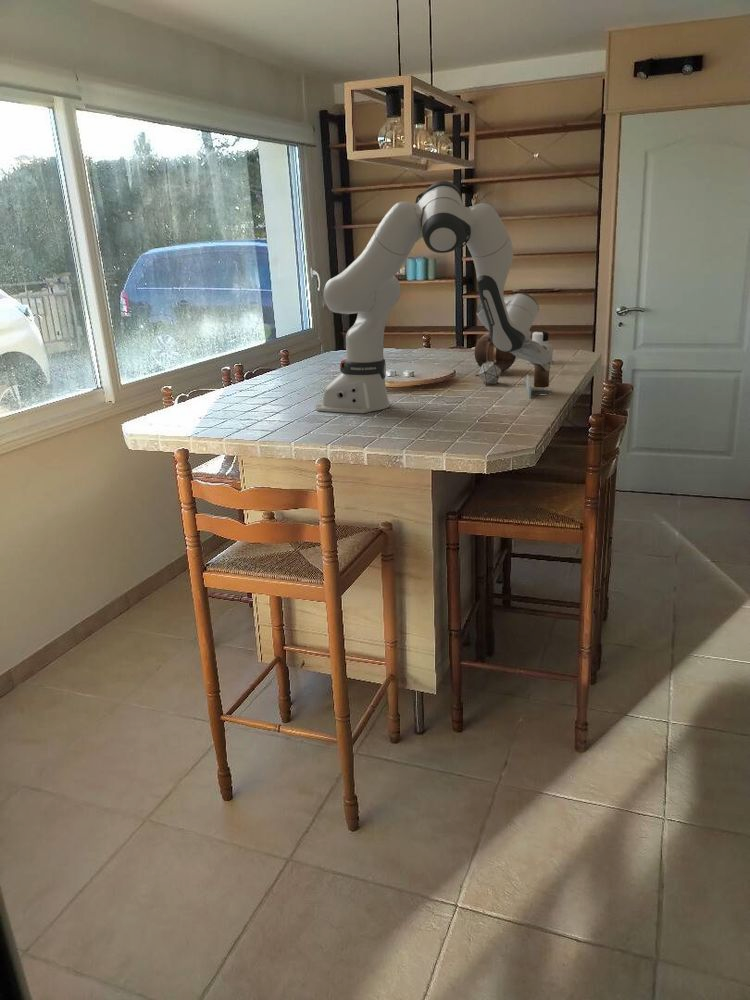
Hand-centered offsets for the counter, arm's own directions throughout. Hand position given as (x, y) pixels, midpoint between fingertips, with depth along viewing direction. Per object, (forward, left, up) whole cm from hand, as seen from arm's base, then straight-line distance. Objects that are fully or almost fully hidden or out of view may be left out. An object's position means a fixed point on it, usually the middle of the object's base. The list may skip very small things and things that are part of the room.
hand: (543, 367), depth 239 cm
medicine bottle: (+2, +55, -8) cm, 56 cm away
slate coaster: (-1, 0, -8) cm, 8 cm away
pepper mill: (0, 0, -6) cm, 6 cm away
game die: (-17, +14, -8) cm, 23 cm away
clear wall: (-4, 0, -8) cm, 9 cm away
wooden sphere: (-15, +35, -8) cm, 39 cm away
